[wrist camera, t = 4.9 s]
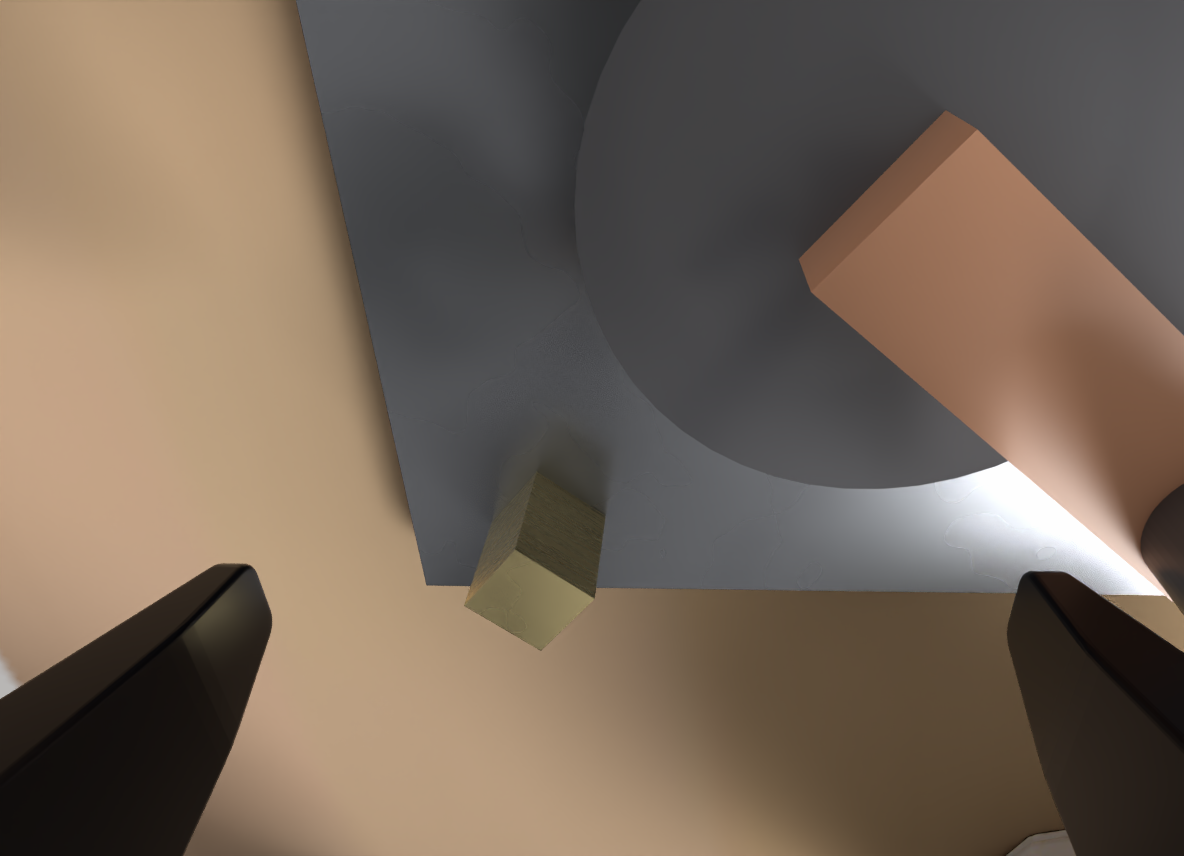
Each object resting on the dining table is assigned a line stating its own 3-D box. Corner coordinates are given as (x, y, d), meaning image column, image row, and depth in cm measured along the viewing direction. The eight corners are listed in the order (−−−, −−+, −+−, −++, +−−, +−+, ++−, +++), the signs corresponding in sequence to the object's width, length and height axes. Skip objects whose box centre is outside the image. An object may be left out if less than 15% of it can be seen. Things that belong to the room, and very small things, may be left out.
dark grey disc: (468, 236, 10) (319, 437, 6) (922, -388, 7) (1286, -898, 3) (973, 624, 12) (1118, 960, 8) (1483, 293, 9) (2133, 571, 5)
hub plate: (1232, 556, 14) (1357, 695, 11) (440, 549, 16) (392, 669, 13) (1779, -737, 7) (2445, -1149, 4) (225, -501, 8) (25, -697, 6)
